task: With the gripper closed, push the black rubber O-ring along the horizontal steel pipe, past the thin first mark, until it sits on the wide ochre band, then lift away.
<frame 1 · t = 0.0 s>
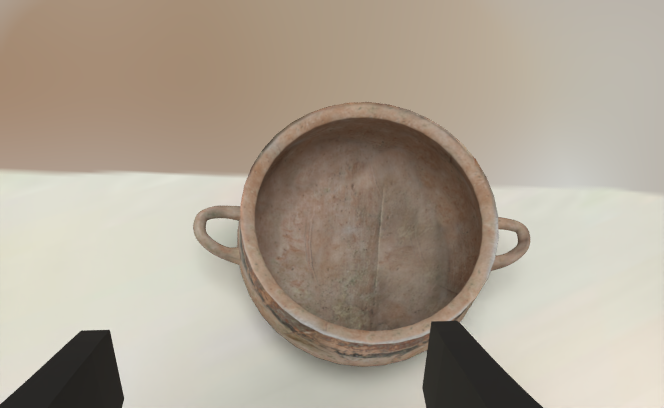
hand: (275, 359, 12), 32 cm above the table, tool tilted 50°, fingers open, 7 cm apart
cooking pot: (352, 263, 47), on the table
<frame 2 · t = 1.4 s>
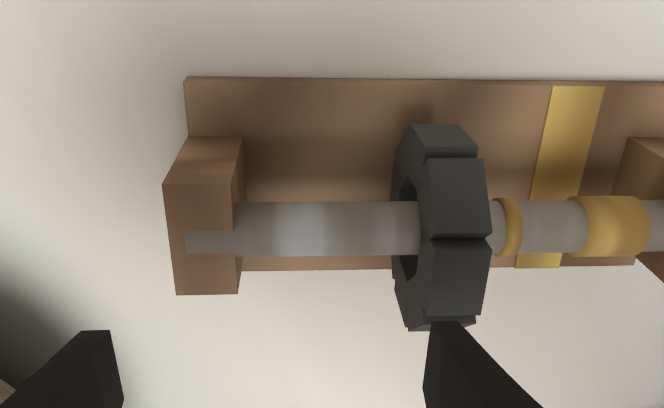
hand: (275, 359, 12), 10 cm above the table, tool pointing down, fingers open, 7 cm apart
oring: (430, 227, 18), point 4 cm above the table, slide at 0.0 cm
pipe stand: (429, 176, 22), on the table
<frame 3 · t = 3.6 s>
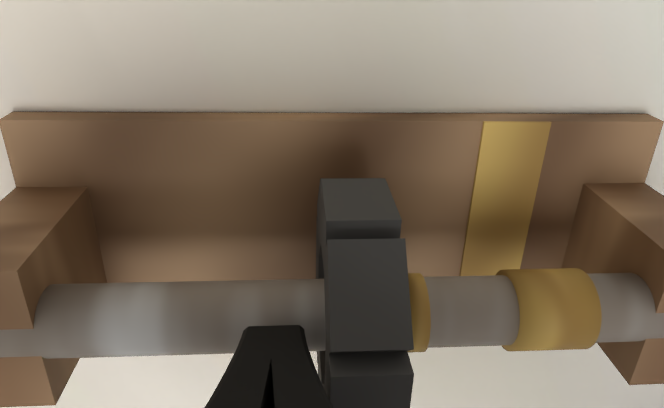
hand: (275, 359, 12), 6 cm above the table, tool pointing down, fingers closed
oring: (352, 313, 13), point 4 cm above the table, slide at 1.0 cm, touching gripper
pipe stand: (339, 230, 17), on the table
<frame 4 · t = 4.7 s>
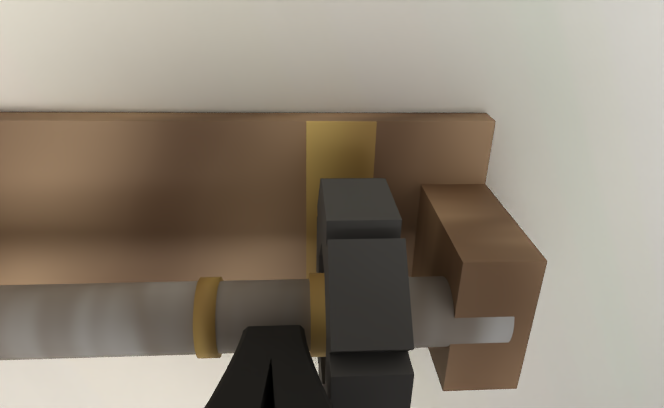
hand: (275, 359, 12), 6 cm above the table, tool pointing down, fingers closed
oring: (352, 313, 13), point 4 cm above the table, slide at 6.1 cm, touching gripper
pipe stand: (182, 232, 17), on the table
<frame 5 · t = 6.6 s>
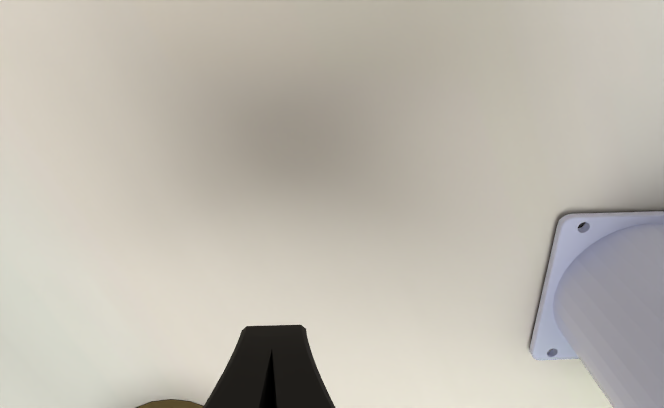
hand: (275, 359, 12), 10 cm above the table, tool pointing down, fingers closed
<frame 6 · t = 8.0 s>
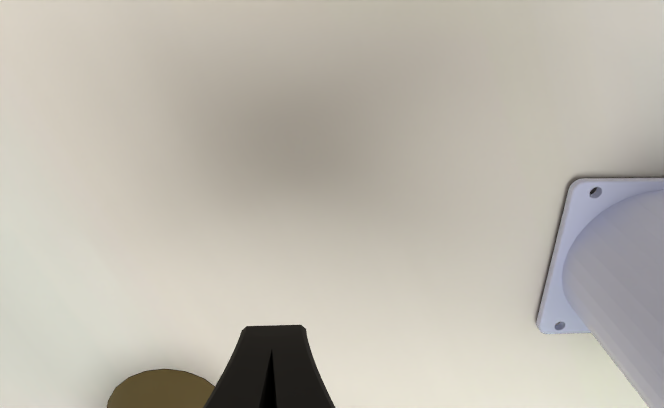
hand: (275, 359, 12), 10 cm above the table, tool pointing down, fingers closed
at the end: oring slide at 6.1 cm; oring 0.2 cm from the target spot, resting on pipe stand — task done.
